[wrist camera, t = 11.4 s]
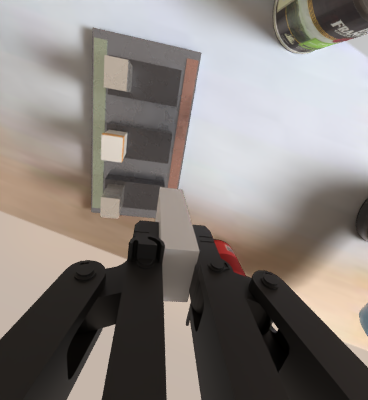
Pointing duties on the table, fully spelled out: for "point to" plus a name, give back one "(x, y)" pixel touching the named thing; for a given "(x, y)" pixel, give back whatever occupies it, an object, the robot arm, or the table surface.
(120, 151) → the handle
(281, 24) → the coffee can
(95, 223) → the table surface
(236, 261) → the canned food
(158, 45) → the panel
